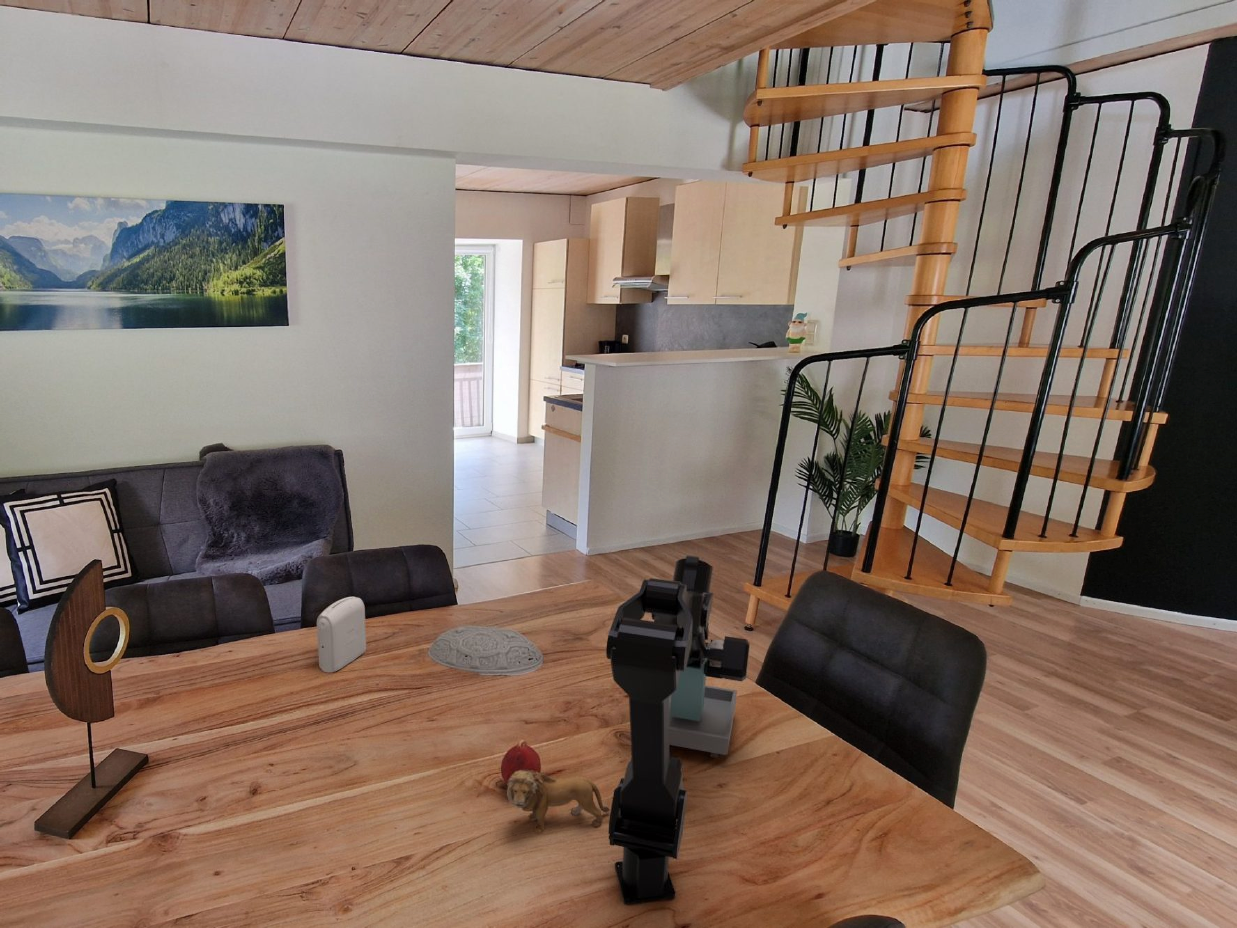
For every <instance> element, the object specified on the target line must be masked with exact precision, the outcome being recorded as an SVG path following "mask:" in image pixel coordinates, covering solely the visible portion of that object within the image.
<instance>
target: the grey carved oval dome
mask: <svg viewBox="0 0 1237 928" xmlns="http://www.w3.org/2000/svg"><path fill="white" fill-rule="evenodd" d="M427 656H428V657H429V659H431V660H432V661H433V662H434V663H436V664H439V665H442V666H443V667H446V668H450V669H455V670H459V671H464V672H471V673H474V674H479V675H481V676H500V675H503V676H509V677H510V676H521V675H526V674H528V673H532V672H534V671H536V670H538V669H539V668H540V667H541V666H542V665H543V662H544V655H543V652H542V651H541V650H540V649H539V647H537V646H536V644H535V643H534V642H532V641H531V640H530V639H529V638H528V637H526V636H525V635H523V634H522V633H520V632H519V631H517V630H514V629H510V628H502V627H495V626H481V625H479V626H477V625H471V624H470V625H463V626H459V627H456V628H452V629H450V630H447V631H445V632H443V633H441V634H439V635H438V636H437V637H436V639H434V641H433V642H432V643H431V644H430V647H429V649H428V652H427ZM529 659H530V660H529Z"/></svg>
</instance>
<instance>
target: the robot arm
mask: <svg viewBox="0 0 1237 928" xmlns="http://www.w3.org/2000/svg"><path fill="white" fill-rule="evenodd" d="M713 568H714V567H713V565H710V563H708V562H706V561H704V560H700V557H699V556H693V555H686V556H685V558H681V559H678V560H677V561H675V566H674V571H673V575H672V576H673V577H672V580H668V579H661V578H652V577H651V578H648V579H644V580H642V583H641V586H640V589H639V591H638V592H637V593H636V594H634V595H633V596H632V597H629V599H628V600H626V601H624V602H623V603H621V604H620V605H619V606H618V607H617V609H616V612H615V615H614V617H613V619H612V620H613V621H612V623H611V626H610V629H609V631H608V636H607V640H606V648H605V649H606V652H605V653H606V655H605V656H606V658H607V660H610V667H611V672H612V673H611V674H612V680H613V682H615V684H616V685H617V686H619V688H621V689H622V691H624V693H626V694H627V695H628V703H629V704H628V706H629V724H630V725H629V727H630V728H629V730H630V749H631V757H630V761H629V762H628V764H627V767H626V770H625V775H624V777H621V778H620V780H619V783H618V785H617V787H615V788H614V790H613V795H612V801H611V809H610V811H609V813H610V814H609V821H608V831H607V832H608V833H607V834H608V840H609V845H610V846H617V847H622V848H623V850H622V851H623V852H622V860H620V861H616V862H614V870H615V873H616V874H615V875H616V878H617V882H618V884H619V890H620V893H621V898H622V900H623V903H624V904H626V905H633V904H639V903H640V904H641V903H648V902H656V901H665V900H671V899H675V898H676V890H675V887H674V884H673V882H672V881H673V880H672V878H671V875H670V873H669V862H670V860H669V859H670V858H672V859H673V860H678V856H679V853H680V848H681V843H682V839H683V834H684V828H685V816H686V808H687V799H688V798H687V797H688V790H686V789H683V787H684V786H683V785H684V784H683V771H682V769H683V763H682V761H681V759H680V757H675V756H670V745H669V696H670V695H671V694H673V693H674V692H675V691H676V689H677V685H678V680H679V676H680V672H681V671H685V670H686V667H689V668H695V669H700V668H701V664H702V665H705V663H706V666H705V673H704V674H705V676H706V678H712V679H713V678H715V679H721V680H722V679H725V680H729V681H737V682H744V681H745V680H746V679H747V673H748V665H749V664H748V663H749V654H750V642H749V640H748V639H746V638H740V637H733V636H727V635H725V636H724V639H723V640H721V639H710V642H706V641H708V640H709V635H710V630H709V625H710V623H709V621H710V620H709V619H710V617H711V612H712V607H713V606H712V605H713V599H714V592H710V591H711V583H712V575H713V571H714V569H713ZM646 613H647V614H650V615H651V619H652V620H653V621H652V620H644V619H643V618H644V617H645V614H646ZM706 648H707V649H706ZM706 658H707V661H706ZM703 659H704V660H703Z"/></svg>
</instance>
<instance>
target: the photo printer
mask: <svg viewBox="0 0 1237 928" xmlns="http://www.w3.org/2000/svg"><path fill="white" fill-rule="evenodd" d="M366 629H367V628H366V609H365V604H364V601H363V600H362V599H361V598H360V597H356V596H348V597H344V598H342V599H339V600H337V601H335V602H333V603H332V604H330V605H329V606H328V607H326V608H325V609H324V610H323V611H322V612H321V613H320V614H319V616H318V617H317V619H316V631H317V632H316V633H317V635H316V636H317V651H318V652H317V653H318V666H319V668H320V669H321V671H322V672H324V673H330V674H332V673H334V672H338V671H339V670H341V669H342V668H344V667H345V666H347V665H348V664H350V663H352V662H353V661H355V660H357V658H359V657H360V656H362V655H364V653H365V652H366V650H367V635H366V634H367V633H366V632H367V631H366Z"/></svg>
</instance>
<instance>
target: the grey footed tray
mask: <svg viewBox="0 0 1237 928" xmlns="http://www.w3.org/2000/svg"><path fill="white" fill-rule="evenodd" d="M737 695H738V690H735V689H730V688H724V687H718V686H712V685H707V684H705V696H704V707H703V711H702V715H701V719H700V721H695V720H689V719H683V718H677V717H671V716H670V704H671V695H670V696H669V746H673V747H680V748H686V749H690V750H698V751H702V752H707V753H710V757H711V758H715V759H716V758H719V757H718V755H724V756H728V755H729V754H728V753H729V749H730V741H731V736H732V729H733V722H734V716H735V710H736V705H737Z"/></svg>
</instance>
